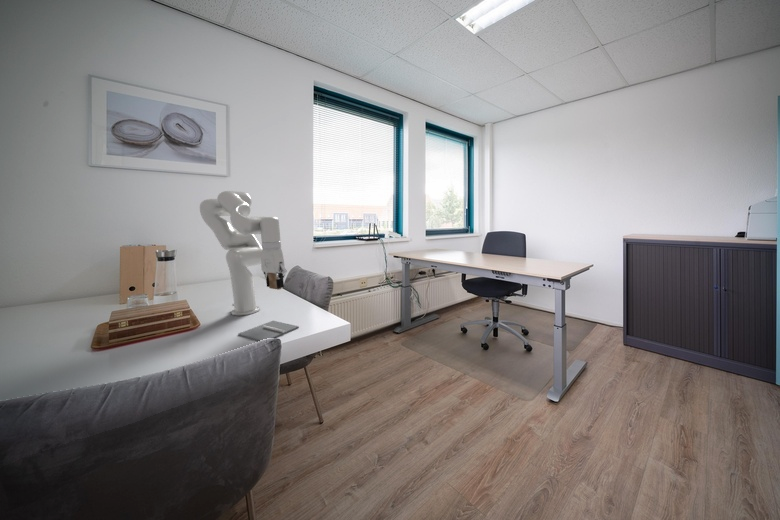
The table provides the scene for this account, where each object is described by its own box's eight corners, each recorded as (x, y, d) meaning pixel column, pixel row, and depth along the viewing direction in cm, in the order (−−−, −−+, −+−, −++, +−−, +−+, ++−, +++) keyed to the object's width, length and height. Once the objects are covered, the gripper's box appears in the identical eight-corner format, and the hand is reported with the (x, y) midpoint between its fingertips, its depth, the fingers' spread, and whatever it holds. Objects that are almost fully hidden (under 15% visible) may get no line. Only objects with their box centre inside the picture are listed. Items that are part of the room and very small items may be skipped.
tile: (269, 288, 129) (268, 272, 128) (272, 287, 131) (271, 271, 130) (278, 289, 126) (277, 273, 125) (281, 288, 128) (280, 273, 127)
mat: (238, 335, 114) (237, 331, 114) (273, 321, 128) (272, 318, 128) (264, 342, 106) (263, 338, 106) (298, 327, 120) (298, 323, 119)
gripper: (251, 246, 127) (255, 286, 130) (277, 247, 118) (281, 291, 121) (266, 244, 133) (270, 283, 136) (292, 245, 124) (295, 287, 127)
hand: (275, 286), depth 128 cm, fingers closed on tile, 6 cm apart
